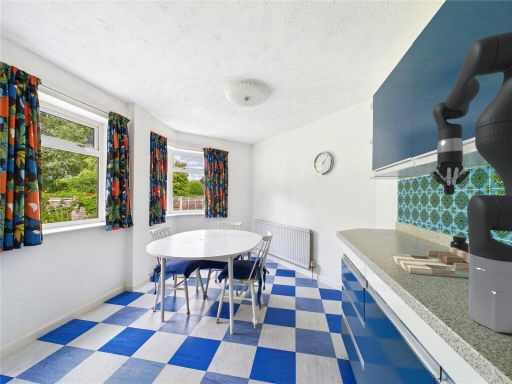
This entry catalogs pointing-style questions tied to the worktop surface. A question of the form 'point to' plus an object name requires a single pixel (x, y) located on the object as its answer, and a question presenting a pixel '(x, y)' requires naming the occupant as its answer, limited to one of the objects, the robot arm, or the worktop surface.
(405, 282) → the worktop surface
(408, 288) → the worktop surface
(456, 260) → the walnut block
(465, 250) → the supplement bottle
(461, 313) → the worktop surface
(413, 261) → the box
